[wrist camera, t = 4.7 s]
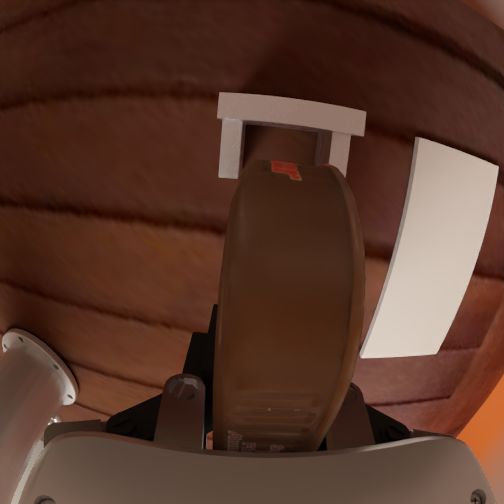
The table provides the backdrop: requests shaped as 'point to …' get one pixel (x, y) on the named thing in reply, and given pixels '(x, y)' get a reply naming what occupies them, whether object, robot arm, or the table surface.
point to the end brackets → (286, 126)
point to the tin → (287, 308)
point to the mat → (432, 251)
